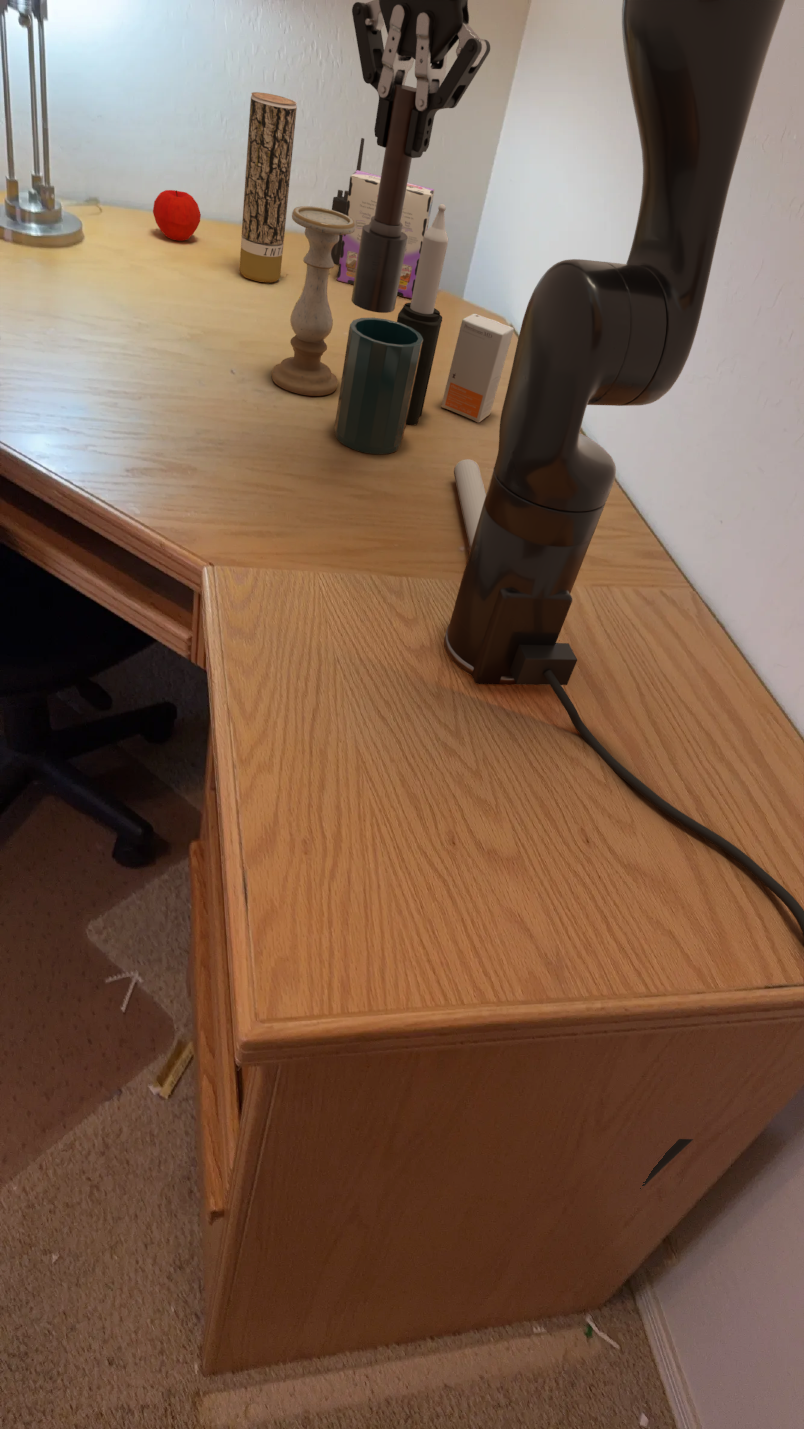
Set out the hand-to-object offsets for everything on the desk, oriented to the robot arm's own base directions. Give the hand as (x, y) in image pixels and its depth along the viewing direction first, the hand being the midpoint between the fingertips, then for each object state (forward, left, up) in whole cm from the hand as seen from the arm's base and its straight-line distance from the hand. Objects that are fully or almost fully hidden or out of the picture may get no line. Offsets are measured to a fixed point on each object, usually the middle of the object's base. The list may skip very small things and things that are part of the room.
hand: (399, 150), depth 83 cm
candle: (+14, -10, -32) cm, 36 cm away
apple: (+78, +17, -32) cm, 86 cm away
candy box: (+67, -17, -32) cm, 76 cm away
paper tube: (+63, +4, -32) cm, 71 cm away
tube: (-16, -12, -32) cm, 37 cm away
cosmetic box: (+17, -20, -32) cm, 41 cm away
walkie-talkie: (+78, -12, -32) cm, 85 cm away
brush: (0, 0, -14) cm, 14 cm away
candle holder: (+21, +2, -32) cm, 38 cm away
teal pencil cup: (+6, -4, -32) cm, 32 cm away
